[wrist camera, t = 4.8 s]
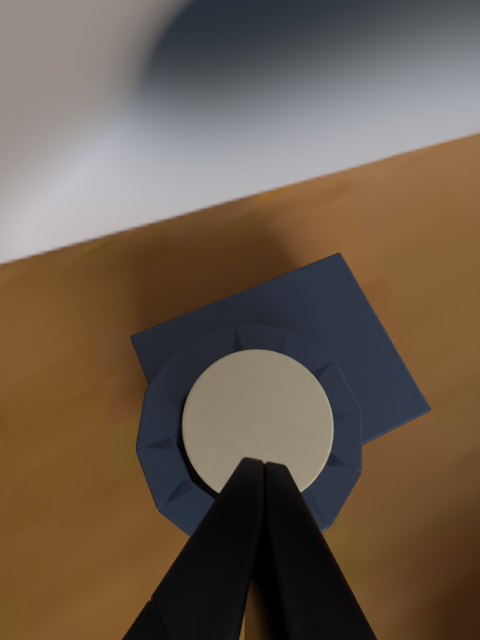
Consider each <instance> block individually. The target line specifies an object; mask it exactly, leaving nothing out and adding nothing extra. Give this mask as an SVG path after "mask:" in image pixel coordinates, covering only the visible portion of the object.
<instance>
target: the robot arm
mask: <svg viewBox="0 0 480 640" xmlns="http://www.w3.org/2000/svg"><path fill="white" fill-rule="evenodd" d="M244 612H245V640H377V639H376V637H375V635H374V633H373V631H372V629H371V627H370V625H369V623H368V621H367V619H366V617H365V615H364V614H363V612H362V610H361V608H360V606H359V604H358V602H357V600H356V598H355V596H354V594H353V592H352V590H351V589H350V587H349V585H348V583H347V581H346V579H345V577H344V575H343V573H342V571H341V569H340V567H339V565H338V564H337V562H336V560H335V558H334V556H333V554H332V552H331V550H330V548H329V546H328V544H327V542H326V540H325V539H324V537H323V535H322V533H321V531H320V529H319V527H318V525H317V523H316V521H315V519H314V517H313V515H312V513H311V512H310V510H309V508H308V506H307V504H306V502H305V500H304V498H303V496H302V494H301V492H300V490H299V488H298V487H297V485H296V483H295V481H294V479H293V477H292V475H291V473H290V471H289V469H288V467H287V466H286V465H284V464H281V463H276V462H271V461H267V462H265V463H264V462H263V460H261V459H256V458H251V457H243V458H242V459H241V461H240V462H239V464H238V465H237V467H236V468H235V470H234V471H233V473H232V475H231V476H230V478H229V479H228V481H227V482H226V484H225V485H224V487H223V488H222V490H221V491H220V493H219V494H218V496H217V497H216V499H215V500H214V502H213V503H212V505H211V506H210V508H209V510H208V511H207V513H206V514H205V516H204V517H203V519H202V520H201V522H200V523H199V525H198V526H197V528H196V529H195V531H194V532H193V534H192V535H191V537H190V538H189V540H188V541H187V543H186V544H185V546H184V548H183V549H182V551H181V552H180V554H179V555H178V557H177V558H176V560H175V561H174V563H173V564H172V566H171V567H170V569H169V570H168V572H167V573H166V575H165V576H164V578H163V579H162V581H161V583H160V584H159V586H158V587H157V589H156V590H155V592H154V593H153V595H152V596H151V600H150V601H148V602H147V603H146V605H145V606H144V608H143V609H142V611H141V612H140V614H139V615H138V617H137V618H136V620H135V621H134V623H133V624H132V626H131V627H130V629H129V630H128V631H127V633H126V634H125V636H124V637H123V639H122V640H239V637H240V632H241V627H242V622H243V617H244Z"/></svg>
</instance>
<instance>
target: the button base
mask: <svg viewBox="0 0 480 640" xmlns="http://www.w3.org/2000/svg"><path fill="white" fill-rule="evenodd" d="M131 341H132V344H133V346H134V349H135V351H136V354H137V356H138V359H139V361H140V364H141V366H142V369H143V372H144V374H145V377H146V379H147V382H148V384H149V385H148V386H147V390H146V391H145V395H144V401H143V407H142V413H141V419H140V424H139V430H138V436H137V442H136V449H137V450H136V453H137V456H138V459H139V462H140V464H141V467H142V470H143V472H144V475H145V478H146V481H147V483H148V486H149V489H150V492H151V494H152V497H153V500H154V502H155V505H156V508H157V509H159V510H158V511H159V512H160V513H161V514H162V515H164V516H165V517H166V518H167V519H169V520H170V521H171V522H172V523H174V524H175V525H176V526H177V527H179V528H180V529H181V530H182V531H184V532H185V533H186V534H188V535H189V536H190V537H191V535H192V534H193V532H194V531H195V529H196V528H197V526H198V525H199V523H200V522H201V520H202V519H203V517H204V516H205V514H206V513H207V511H208V510H209V508H210V506H211V505H212V503H213V502H214V500H215V499H216V497H217V496H218V494H219V493H218V492H216V491H215V490H213V489H212V488H211V487H210V486H209V485H208V484H206V483H205V482H204V480H203V479H202V478H201V477H200V476H199V475H198V473H197V472H196V470H195V469H194V467H193V465H192V463H191V461H190V459H189V457H188V455H187V452H186V449H185V445H184V440H183V433H182V419H183V412H184V407H185V403H186V400H187V397H188V395H189V393H190V391H191V389H192V387H193V385H194V384H195V382H196V381H197V379H198V378H199V377H200V375H201V374H202V373H203V372H204V371H205V370H206V369H207V368H208V367H210V366H211V365H212V364H213V363H215V362H216V361H218V360H219V359H221V358H223V357H225V356H227V355H230V354H233V353H235V352H239V351H244V350H254V349H257V350H268V351H274V352H277V353H280V354H283V355H286V356H288V357H290V358H292V359H294V360H295V361H297V362H299V363H300V364H301V365H303V366H304V367H305V368H306V369H308V371H309V372H310V373H311V374H312V375H313V376H314V377H315V378H316V379H317V381H318V382H319V383H320V385H321V387H322V388H323V390H324V392H325V394H326V396H327V398H328V401H329V404H330V407H331V410H332V416H333V427H334V432H333V442H332V447H331V451H330V454H329V457H328V459H327V462H326V464H325V465H324V467H323V469H322V471H321V472H320V474H319V475H318V476H317V478H316V479H315V480H314V481H313V482H312V483H311V484H310V485H309V486H308V487H307V488H306V489H305V490H303V491H302V492H301V494H302V496H303V498H304V500H305V502H306V504H307V506H308V508H309V510H310V512H311V513H312V515H313V517H314V519H315V521H316V523H317V525H318V527H319V529H320V531H321V532H323V531H324V530H326V529H328V528H329V526H331V525H332V524H333V522H334V520H335V518H336V517H337V515H338V513H339V511H340V510H341V508H342V506H343V504H344V503H345V501H346V499H347V497H348V496H349V494H350V492H351V490H352V489H353V487H354V485H355V483H356V482H357V480H358V478H359V476H360V475H361V469H362V445H363V444H365V443H367V442H369V441H371V440H373V439H375V438H377V437H379V436H381V435H383V434H385V433H387V432H389V431H391V430H393V429H395V428H397V427H399V426H401V425H403V424H405V423H407V422H409V421H411V420H413V419H415V418H417V417H419V416H421V415H423V414H425V413H427V412H429V411H430V410H431V408H430V406H429V405H428V403H427V401H426V399H425V398H424V396H423V394H422V393H421V391H420V389H419V387H418V386H417V384H416V382H415V381H414V379H413V377H412V375H411V374H410V372H409V370H408V369H407V367H406V365H405V363H404V362H403V360H402V358H401V356H400V355H399V353H398V351H397V350H396V348H395V346H394V344H393V343H392V341H391V339H390V338H389V336H388V334H387V332H386V331H385V329H384V327H383V326H382V324H381V322H380V320H379V319H378V317H377V315H376V313H375V312H374V310H373V308H372V307H371V305H370V303H369V301H368V300H367V298H366V296H365V295H364V293H363V291H362V289H361V288H360V286H359V284H358V283H357V281H356V279H355V277H354V276H353V274H352V272H351V270H350V269H349V267H348V265H347V264H346V262H345V260H344V258H343V257H342V255H341V253H336V254H334V255H331V256H329V257H326V258H324V259H321V260H319V261H316V262H314V263H311V264H309V265H306V266H304V267H301V268H299V269H296V270H294V271H291V272H289V273H286V274H284V275H281V276H279V277H276V278H274V279H271V280H269V281H266V282H264V283H261V284H259V285H256V286H254V287H251V288H249V289H246V290H244V291H241V292H239V293H236V294H234V295H231V296H229V297H227V298H224V299H222V300H219V301H217V302H214V303H212V304H209V305H207V306H204V307H202V308H199V309H197V310H194V311H192V312H189V313H187V314H184V315H182V316H179V317H177V318H174V319H172V320H169V321H167V322H164V323H162V324H159V325H157V326H154V327H152V328H149V329H147V330H144V331H142V332H139V333H137V334H134V335H132V336H131Z"/></svg>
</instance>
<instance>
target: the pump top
mask: <svg viewBox="0 0 480 640" xmlns="http://www.w3.org/2000/svg"><path fill="white" fill-rule="evenodd" d="M333 432H334V427H333V416H332V410H331V407H330V404H329V401H328V398H327V396H326V394H325V392H324V390H323V388H322V387H321V385H320V383H319V382H318V381H317V379H316V378H315V377H314V376H313V375H312V374H311V373H310V372H309V371H308V369H306V368H305V367H304V366H303V365H301V364H300V363H299V362H297V361H295V360H294V359H292V358H290V357H288V356H286V355H283V354H280V353H277V352H274V351H268V350H257V349H254V350H244V351H239V352H235V353H233V354H230V355H227V356H225V357H223V358H221V359H219V360H218V361H216V362H215V363H213V364H212V365H211V366H210V367H208V368H207V369H206V370H205V371H204V372H203V373H202V374H201V375H200V377H199V378H198V379H197V381H196V382H195V384H194V385H193V387H192V389H191V391H190V393H189V395H188V397H187V400H186V403H185V407H184V412H183V419H182V433H183V440H184V445H185V449H186V452H187V455H188V457H189V459H190V461H191V463H192V465H193V467H194V469H195V470H196V472H197V473H198V475H199V476H200V477H201V478H202V479H203V480H204V482H205V483H206V484H208V485H209V486H210V487H211V488H212V489H213V490H215V491H216V492H218V493H220V491H221V490H222V488H223V487H224V485H225V484H226V482H227V481H228V479H229V478H230V476H231V475H232V473H233V471H234V470H235V468H236V467H237V465H238V464H239V462H240V461H241V459H242V458H243V457H251V458H256V459H261V460H263V462H264V463H265V462H267V461H271V462H276V463H281V464H284V465H286V466H287V467H288V469H289V471H290V473H291V475H292V477H293V479H294V481H295V483H296V485H297V487H298V488H299V490H300V492H302V491H303V490H305V489H306V488H307V487H308V486H309V485H310V484H311V483H312V482H313V481H314V480H315V479H316V478H317V476H318V475H319V474H320V472H321V471H322V469H323V467H324V465H325V464H326V462H327V459H328V457H329V454H330V451H331V447H332V442H333Z"/></svg>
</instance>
